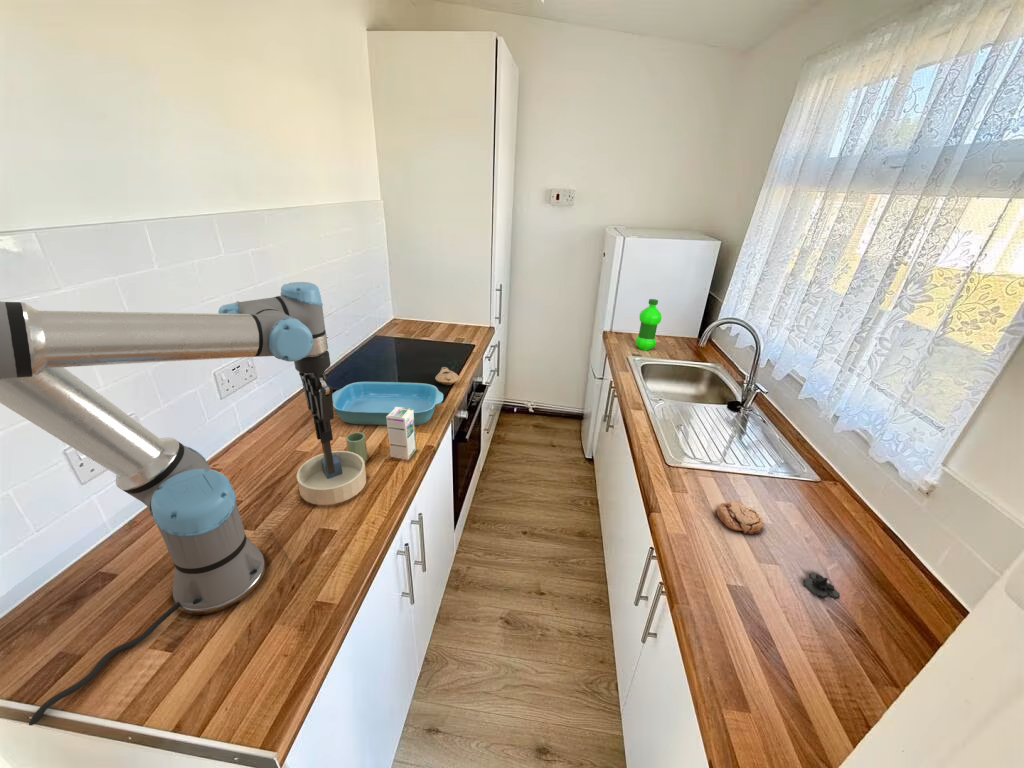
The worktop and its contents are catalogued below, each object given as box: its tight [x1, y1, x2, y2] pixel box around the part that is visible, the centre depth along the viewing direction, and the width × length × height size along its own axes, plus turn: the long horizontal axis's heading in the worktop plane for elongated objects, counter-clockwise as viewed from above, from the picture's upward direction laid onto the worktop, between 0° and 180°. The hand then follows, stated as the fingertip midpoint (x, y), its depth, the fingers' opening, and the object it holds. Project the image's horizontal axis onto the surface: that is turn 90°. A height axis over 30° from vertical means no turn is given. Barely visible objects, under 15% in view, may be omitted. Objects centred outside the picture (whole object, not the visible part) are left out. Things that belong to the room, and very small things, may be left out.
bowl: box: [296, 450, 367, 506], centre depth 112 cm, size 16×16×6 cm
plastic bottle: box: [635, 298, 663, 351], centre depth 212 cm, size 10×10×25 cm
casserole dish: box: [332, 381, 444, 426], centre depth 146 cm, size 37×22×7 cm, turn 94°
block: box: [321, 455, 343, 479], centre depth 115 cm, size 4×4×4 cm
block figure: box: [803, 572, 841, 599], centre depth 91 cm, size 6×2×6 cm
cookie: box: [716, 500, 764, 535], centre depth 108 cm, size 10×11×3 cm
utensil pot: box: [345, 431, 368, 462], centre depth 121 cm, size 5×5×8 cm
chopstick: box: [316, 412, 335, 474], centre depth 109 cm, size 2×2×18 cm
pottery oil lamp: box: [434, 366, 460, 386], centre depth 171 cm, size 9×12×7 cm
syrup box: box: [386, 407, 417, 461], centre depth 123 cm, size 6×6×14 cm
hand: (325, 439), depth 108 cm, fingers closed on chopstick, 2 cm apart
